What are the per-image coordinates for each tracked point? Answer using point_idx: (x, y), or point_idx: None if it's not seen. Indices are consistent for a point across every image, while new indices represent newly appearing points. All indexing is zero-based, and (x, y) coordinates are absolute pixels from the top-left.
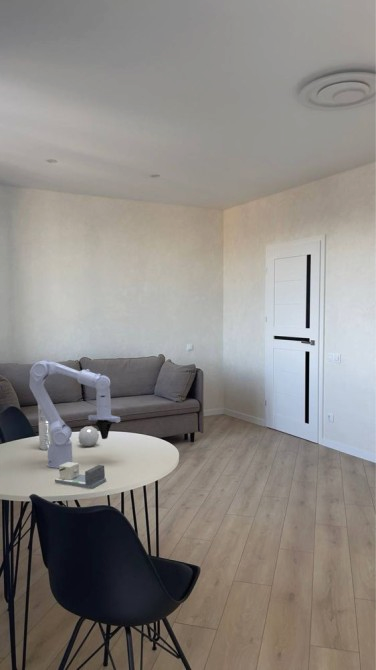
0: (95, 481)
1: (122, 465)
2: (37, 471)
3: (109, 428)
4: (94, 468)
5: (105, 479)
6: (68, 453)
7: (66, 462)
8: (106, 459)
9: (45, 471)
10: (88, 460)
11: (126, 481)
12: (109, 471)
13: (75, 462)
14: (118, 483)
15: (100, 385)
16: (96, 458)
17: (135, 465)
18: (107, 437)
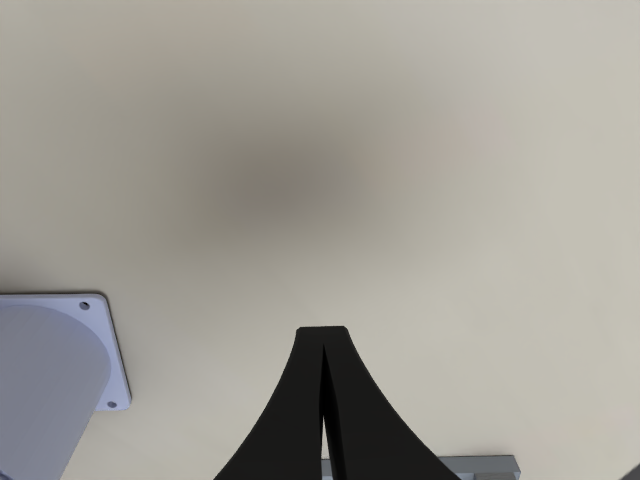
0: None
1: (485, 204)
2: None
3: (407, 434)
4: None
5: (517, 469)
6: (72, 445)
7: (97, 402)
8: (247, 108)
9: None
10: (112, 192)
11: (630, 423)
12: (450, 337)
13: (90, 305)
14: (594, 453)
15: None
16: (130, 114)
17: (599, 167)
18: (347, 331)
